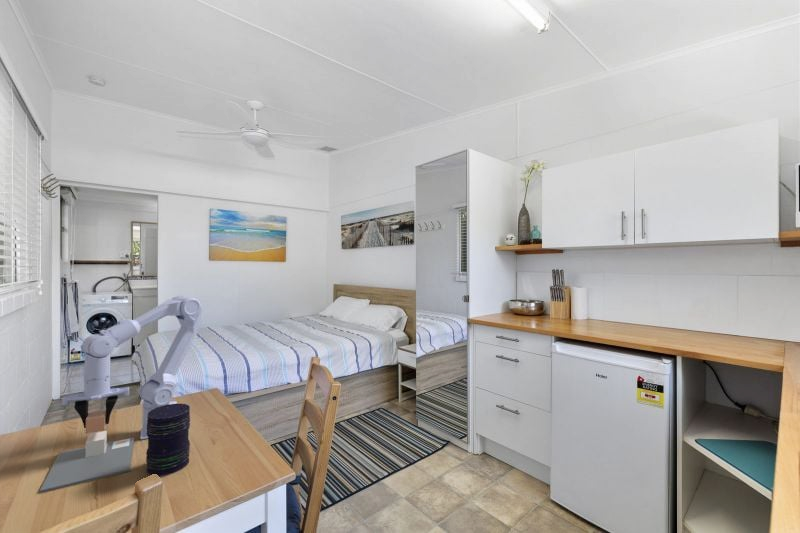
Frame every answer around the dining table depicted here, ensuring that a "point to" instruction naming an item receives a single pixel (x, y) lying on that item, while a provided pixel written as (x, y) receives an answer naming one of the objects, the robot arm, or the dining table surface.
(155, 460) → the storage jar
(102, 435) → the off-white brick
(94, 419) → the terracotta brick
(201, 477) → the dining table surface
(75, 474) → the baseplate
